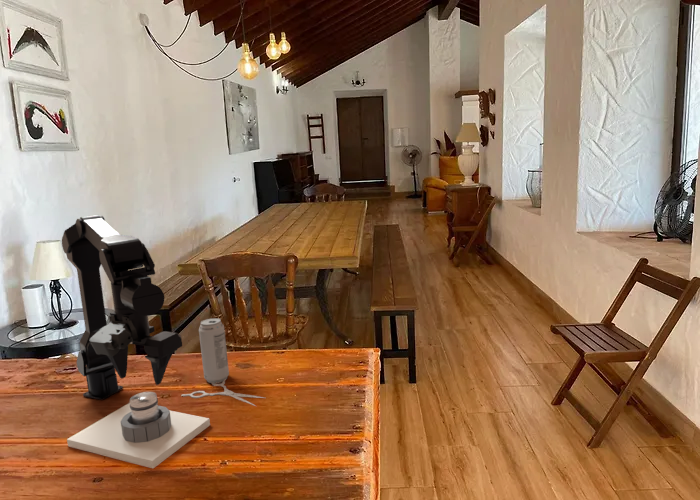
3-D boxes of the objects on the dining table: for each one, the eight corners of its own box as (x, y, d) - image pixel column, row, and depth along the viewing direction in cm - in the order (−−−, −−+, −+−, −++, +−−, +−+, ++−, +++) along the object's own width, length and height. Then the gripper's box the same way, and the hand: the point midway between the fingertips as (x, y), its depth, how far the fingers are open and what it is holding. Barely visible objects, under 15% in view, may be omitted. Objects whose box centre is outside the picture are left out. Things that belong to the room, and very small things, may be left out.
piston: (127, 434, 106) (123, 401, 104) (147, 421, 110) (143, 389, 109) (147, 438, 103) (143, 405, 102) (166, 425, 108) (162, 393, 107)
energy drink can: (214, 372, 137) (208, 316, 134) (234, 375, 134) (228, 318, 131) (199, 382, 131) (192, 324, 128) (219, 385, 129) (213, 326, 126)
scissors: (212, 377, 133) (277, 390, 124) (213, 379, 134) (277, 393, 124) (180, 395, 124) (247, 411, 115) (180, 398, 125) (247, 414, 115)
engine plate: (68, 446, 105) (64, 425, 104) (130, 408, 119) (128, 389, 119) (153, 468, 96) (150, 445, 95) (210, 425, 110) (207, 404, 110)
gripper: (58, 313, 99) (71, 391, 102) (134, 322, 91) (145, 407, 94) (107, 296, 109) (118, 368, 112) (179, 303, 101) (188, 380, 104)
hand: (140, 380), depth 105 cm, fingers open, 9 cm apart
